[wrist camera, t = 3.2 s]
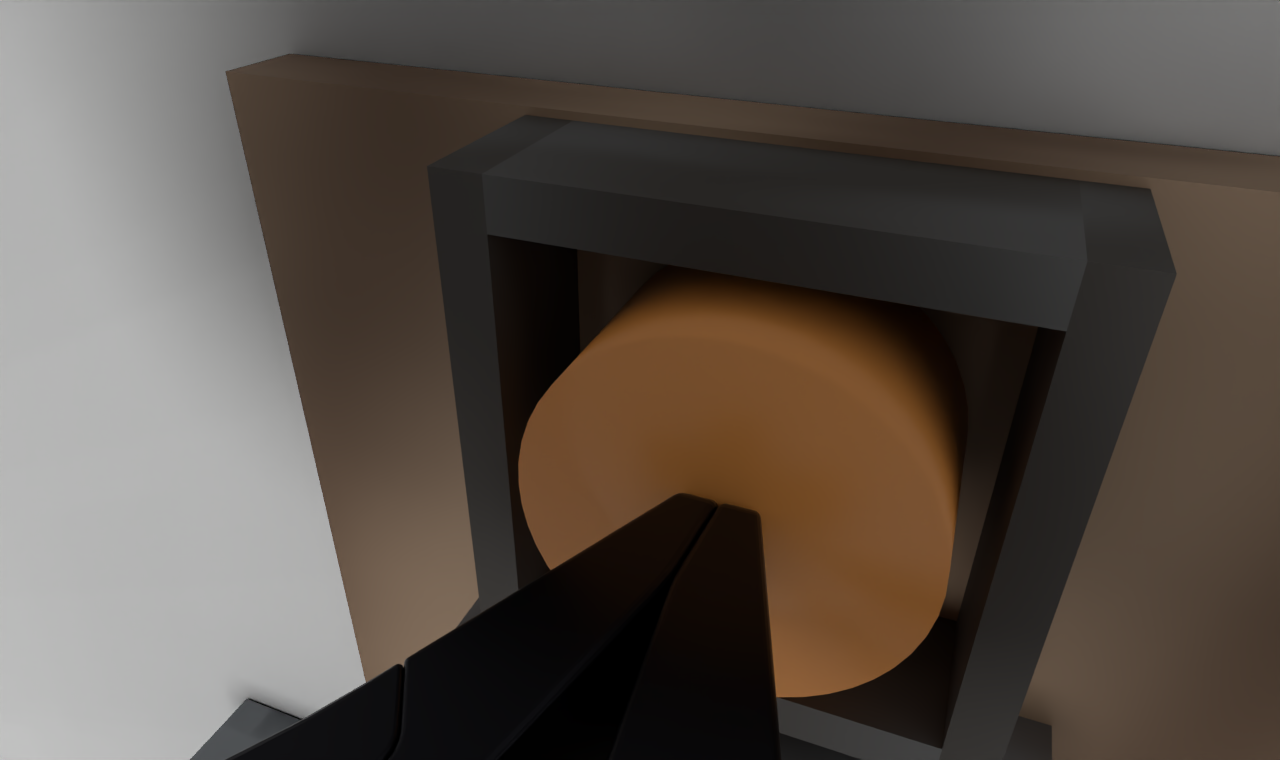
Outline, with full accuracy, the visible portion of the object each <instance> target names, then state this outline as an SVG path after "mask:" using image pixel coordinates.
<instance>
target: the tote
mask: <svg viewBox="0 0 1280 760" xmlns="http://www.w3.org/2000/svg"><path fill="white" fill-rule="evenodd" d="M298 721H300V720H299V719H297V718H294V717H292V716H289V715H287V714H284V713H281V712H279V711H276V710H274V709H271V708H269V707H266V706H264V705H261V704H258V703H256V702H253V701H251V700H248V699H246V700H245V701H244V703H243V704H242V705H241V706H240V707H239V708H238V709H237V710H236V711H235V712H234V713H233V714H232V715H231V716H230V718H229V719H228V720H227V721H226V722H225V723H224V724H223V725H222V726H221V727H220V728H219V729H218V730H217V731H216V732H215V734H214V735H213V736H212V737H211V738H210V739H209V740H208V741H207V742H206V743H205V744H204V745H203V746H202V747H201V749H200V750H199V751H198V752H197V753H196V754H195V755H194V756H193V757H192V758H191V759H190V760H224V759H226V758H228V757H230V756H232V755H234V754H236V753H238V752H240V751H242V750H244V749H246V748H248V747H250V746H252V745H254V744H256V743H258V742H260V741H262V740H264V739H265V738H267V737H269V736H271V735H273V734H275V733H277V732H279V731H281V730H283V729H285V728H287V727H288V726H290V725H292V724H294V723H296V722H298Z"/></svg>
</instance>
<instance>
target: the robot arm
mask: <svg viewBox="0 0 1280 760" xmlns="http://www.w3.org/2000/svg"><path fill="white" fill-rule="evenodd" d="M224 760H782V757H781V745H780V734H779V722H778V710H777V699H776V687H775V675H774V664H773V652H772V640H771V629H770V617H769V606H768V594H767V582H766V571H765V559H764V547H763V536H762V524H761V516H760V514H759V513H758V512H757V511H755V510H751V509H747V508H743V507H739V506H735V505H731V504H722V505H719V506H718V505H717V503H716V502H715V501H713V500H711V499H707V498H703V497H699V496H695V495H691V494H687V493H678V494H675V495H673V496H671V497H670V498H668V499H667V500H665V501H663V502H662V503H660V504H658V505H657V506H655V507H653V508H652V509H650V510H648V511H647V512H645V513H644V514H642V515H640V516H639V517H637V518H635V519H634V520H632V521H630V522H629V523H627V524H626V525H624V526H622V527H621V528H619V529H617V530H616V531H614V532H612V533H611V534H609V535H608V536H606V537H604V538H603V539H601V540H599V541H598V542H596V543H594V544H593V545H591V546H590V547H588V548H586V549H585V550H583V551H581V552H580V553H578V554H576V555H575V556H573V557H571V558H570V559H568V560H567V561H565V562H563V563H562V564H560V565H558V566H557V567H555V568H553V569H552V570H550V571H549V572H547V573H545V574H544V575H542V576H540V577H539V578H537V579H535V580H534V581H532V582H531V583H529V584H527V585H526V586H524V587H522V588H521V589H519V590H517V591H516V592H514V593H513V594H511V595H509V596H508V597H506V598H504V599H503V600H501V601H499V602H498V603H496V604H494V605H493V606H491V607H490V608H488V609H486V610H485V611H483V612H481V613H480V614H478V615H476V616H475V617H473V618H472V619H470V620H468V621H467V622H465V623H463V624H462V625H460V626H458V627H457V628H455V629H454V630H452V631H450V632H449V633H447V634H445V635H444V636H442V637H440V638H439V639H437V640H436V641H434V642H432V643H431V644H429V645H427V646H426V647H424V648H422V649H421V650H419V651H417V652H416V653H414V654H413V655H411V656H409V657H408V658H406V659H405V662H404V667H403V665H401V664H396V665H394V666H392V667H391V668H389V669H387V670H386V671H384V672H382V673H381V674H379V675H378V676H376V677H374V678H373V679H371V680H369V681H368V682H366V683H364V684H363V685H361V686H359V687H358V688H356V689H354V690H352V691H351V692H349V693H347V694H346V695H344V696H342V697H340V698H339V699H337V700H335V701H333V702H332V703H330V704H328V705H327V706H325V707H323V708H321V709H320V710H318V711H316V712H314V713H313V714H311V715H309V716H308V717H306V718H304V719H302V720H300V721H298V722H296V723H294V724H292V725H290V726H288V727H287V728H285V729H283V730H281V731H279V732H277V733H275V734H273V735H271V736H269V737H267V738H265V739H264V740H262V741H260V742H258V743H256V744H254V745H252V746H250V747H248V748H246V749H244V750H242V751H240V752H238V753H236V754H234V755H232V756H230V757H228V758H226V759H224Z"/></svg>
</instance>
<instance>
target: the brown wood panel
mask: <svg viewBox="0 0 1280 760" xmlns="http://www.w3.org/2000/svg"><path fill="white" fill-rule="evenodd" d="M226 75H227V80H228V84H229V88H230V93H231V97H232V101H233V106H234V110H235V115H236V119H237V123H238V128H239V132H240V136H241V141H242V145H243V149H244V154H245V158H246V162H247V167H248V171H249V175H250V180H251V184H252V188H253V193H254V197H255V202H256V206H257V210H258V215H259V219H260V223H261V228H262V232H263V236H264V241H265V245H266V249H267V254H268V258H269V262H270V267H271V271H272V275H273V280H274V284H275V289H276V293H277V297H278V302H279V306H280V310H281V315H282V319H283V323H284V328H285V332H286V336H287V341H288V345H289V349H290V354H291V358H292V362H293V367H294V371H295V376H296V380H297V384H298V389H299V393H300V397H301V402H302V406H303V410H304V415H305V419H306V423H307V428H308V432H309V436H310V441H311V445H312V449H313V454H314V458H315V463H316V467H317V471H318V476H319V480H320V484H321V489H322V493H323V497H324V502H325V506H326V510H327V515H328V519H329V523H330V528H331V532H332V536H333V541H334V545H335V550H336V554H337V558H338V563H339V567H340V571H341V576H342V580H343V584H344V589H345V593H346V597H347V602H348V606H349V610H350V615H351V619H352V624H353V628H354V632H355V637H356V641H357V645H358V650H359V654H360V658H361V663H362V667H363V671H364V676H365V680H366V682H368V681H369V680H371V679H373V678H374V677H376V676H378V675H379V674H381V673H382V672H384V671H386V670H387V669H389V668H391V667H392V666H394V665H396V664H401V665H403V667H404V662H405V659H406V658H408V657H409V656H411V655H413V654H414V653H416V652H417V651H419V650H421V649H422V648H424V647H426V646H427V645H429V644H431V643H432V642H434V641H436V640H437V639H439V638H440V637H442V636H444V635H445V634H447V633H449V632H450V631H452V630H454V629H455V628H457V627H458V626H460V625H462V624H463V623H465V622H467V621H468V620H470V619H472V618H473V617H475V616H476V615H478V614H480V613H481V612H483V611H485V610H486V609H488V608H490V607H491V606H493V605H494V604H496V603H498V602H499V601H501V600H503V599H504V598H506V597H508V596H509V595H511V594H513V593H514V592H516V591H517V590H519V589H521V588H522V587H524V586H526V585H527V584H529V583H531V582H532V581H534V580H535V579H537V578H539V577H540V576H542V575H544V574H545V573H547V572H549V571H550V569H549V567H548V566H547V564H546V562H545V560H544V559H543V557H542V555H541V553H540V551H539V550H538V548H537V546H536V544H535V541H534V539H533V536H532V534H531V532H530V529H529V527H528V524H527V521H526V517H525V514H524V510H523V507H522V502H521V496H520V489H519V471H518V462H519V455H520V448H521V441H522V438H523V435H524V432H525V429H526V426H527V423H528V420H529V418H530V417H531V415H532V413H533V411H534V409H535V407H536V405H537V403H538V402H539V400H540V399H541V398H542V397H543V395H544V394H545V393H546V391H547V390H548V389H549V388H550V386H551V385H552V384H553V383H554V382H555V381H556V380H557V379H558V377H559V376H560V375H561V374H562V373H563V372H564V371H565V370H566V369H567V368H568V366H569V365H570V364H571V363H572V362H573V361H574V360H575V359H576V358H577V357H578V355H579V354H580V353H581V352H582V351H583V350H584V349H585V348H586V347H587V346H588V345H589V343H590V342H591V341H592V340H593V339H594V338H595V337H596V336H597V335H598V334H599V332H600V331H601V330H602V329H603V328H604V327H605V326H606V325H607V324H608V323H609V322H610V320H611V319H612V318H613V317H614V316H615V315H616V314H617V313H618V312H619V311H620V309H621V308H622V307H623V306H624V305H625V304H626V303H627V302H628V301H629V300H630V299H631V297H632V296H633V295H634V294H635V293H636V292H637V291H638V290H639V289H640V288H641V286H643V285H644V284H645V283H646V282H647V281H648V280H649V279H650V278H651V277H652V276H653V275H654V274H656V273H657V272H658V271H660V270H661V269H663V268H664V267H666V266H667V265H673V266H679V267H685V268H691V269H697V270H703V271H709V272H715V273H721V274H727V275H733V276H739V277H745V278H751V279H757V280H763V281H769V282H775V283H781V284H787V285H793V286H799V287H804V288H810V289H816V290H822V291H828V292H834V293H840V294H846V295H852V296H858V297H864V298H870V299H876V300H882V301H888V302H894V303H900V304H906V305H912V306H918V307H920V308H921V309H922V310H923V312H924V313H925V314H926V315H927V316H928V317H929V318H930V319H931V321H932V322H933V323H934V325H935V326H936V328H937V329H938V331H939V332H940V334H941V335H942V336H943V338H944V339H945V341H946V343H947V345H948V347H949V349H950V351H951V353H952V355H953V357H954V359H955V361H956V363H957V365H958V368H959V371H960V374H961V377H962V380H963V383H964V387H965V393H966V399H967V405H968V435H967V443H966V451H965V458H964V466H963V474H962V481H961V489H960V497H959V505H958V512H957V520H956V528H955V535H954V543H953V551H952V558H951V566H950V573H949V579H948V585H947V591H946V597H945V599H944V602H943V605H942V608H941V610H940V613H939V616H938V618H937V620H936V621H935V623H934V625H933V626H932V628H931V630H930V632H929V633H928V635H927V637H926V638H925V639H924V640H923V641H922V642H921V644H920V645H919V646H918V647H917V648H916V649H915V650H914V651H913V653H912V654H911V655H909V656H908V657H907V658H906V659H904V660H903V661H902V662H901V663H899V664H898V665H897V666H896V667H894V668H893V669H891V670H890V671H888V672H886V673H884V674H883V675H881V676H879V677H877V678H876V679H874V680H871V681H869V682H866V683H864V684H861V685H859V686H856V687H854V688H850V689H846V690H842V691H838V692H834V693H830V694H824V695H816V696H808V697H776V699H777V710H778V722H779V734H780V745H781V757H782V760H1280V157H1278V156H1268V155H1259V154H1249V153H1239V152H1230V151H1220V150H1211V149H1201V148H1191V147H1182V146H1172V145H1162V144H1153V143H1143V142H1133V141H1124V140H1114V139H1105V138H1095V137H1085V136H1076V135H1066V134H1056V133H1047V132H1037V131H1028V130H1018V129H1008V128H999V127H989V126H979V125H970V124H960V123H951V122H941V121H931V120H922V119H912V118H902V117H893V116H883V115H873V114H864V113H854V112H845V111H835V110H825V109H816V108H806V107H796V106H787V105H777V104H768V103H758V102H748V101H739V100H729V99H719V98H710V97H700V96H690V95H681V94H671V93H662V92H652V91H642V90H633V89H623V88H613V87H604V86H594V85H585V84H575V83H565V82H556V81H546V80H536V79H527V78H517V77H507V76H498V75H488V74H479V73H469V72H459V71H450V70H440V69H430V68H421V67H411V66H402V65H392V64H382V63H373V62H363V61H353V60H344V59H334V58H324V57H315V56H305V55H296V54H287V55H284V56H280V57H277V58H273V59H269V60H266V61H262V62H259V63H255V64H251V65H248V66H244V67H240V68H237V69H233V70H230V71H226Z"/></svg>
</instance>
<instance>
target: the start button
mask: <svg viewBox="0 0 1280 760" xmlns="http://www.w3.org/2000/svg"><path fill="white" fill-rule="evenodd" d="M967 435H968V405H967V399H966V393H965V387H964V383H963V380H962V377H961V374H960V371H959V368H958V365H957V363H956V361H955V359H954V357H953V355H952V353H951V351H950V349H949V347H948V345H947V343H946V341H945V339H944V338H943V336H942V335H941V334H940V332H939V331H938V329H937V328H936V326H935V325H934V323H933V322H932V321H931V319H930V318H929V317H928V316H927V315H926V314H925V313H924V312H923V310H922V309H921V308H920V307H918V306H912V305H906V304H900V303H894V302H888V301H882V300H876V299H870V298H864V297H858V296H852V295H846V294H840V293H834V292H828V291H822V290H816V289H810V288H804V287H799V286H793V285H787V284H781V283H775V282H769V281H763V280H757V279H751V278H745V277H739V276H733V275H727V274H721V273H715V272H709V271H703V270H697V269H691V268H685V267H679V266H673V265H667V266H666V267H664V268H663V269H661V270H660V271H658V272H657V273H656V274H654V275H653V276H652V277H651V278H650V279H649V280H648V281H647V282H646V283H645V284H644V285H643V286H641V288H640V289H639V290H638V291H637V292H636V293H635V294H634V295H633V296H632V297H631V299H630V300H629V301H628V302H627V303H626V304H625V305H624V306H623V307H622V308H621V309H620V311H619V312H618V313H617V314H616V315H615V316H614V317H613V318H612V319H611V320H610V322H609V323H608V324H607V325H606V326H605V327H604V328H603V329H602V330H601V331H600V332H599V334H598V335H597V336H596V337H595V338H594V339H593V340H592V341H591V342H590V343H589V345H588V346H587V347H586V348H585V349H584V350H583V351H582V352H581V353H580V354H579V355H578V357H577V358H576V359H575V360H574V361H573V362H572V363H571V364H570V365H569V366H568V368H567V369H566V370H565V371H564V372H563V373H562V374H561V375H560V376H559V377H558V379H557V380H556V381H555V382H554V383H553V384H552V385H551V386H550V388H549V389H548V390H547V391H546V393H545V394H544V395H543V397H542V398H541V399H540V400H539V402H538V403H537V405H536V407H535V409H534V411H533V413H532V415H531V417H530V418H529V420H528V423H527V426H526V429H525V432H524V435H523V438H522V441H521V448H520V455H519V462H518V471H519V489H520V496H521V502H522V507H523V510H524V514H525V517H526V521H527V524H528V527H529V529H530V532H531V534H532V536H533V539H534V541H535V544H536V546H537V548H538V550H539V551H540V553H541V555H542V557H543V559H544V560H545V562H546V564H547V566H548V567H549V569H550V570H552V569H553V568H555V567H557V566H558V565H560V564H562V563H563V562H565V561H567V560H568V559H570V558H571V557H573V556H575V555H576V554H578V553H580V552H581V551H583V550H585V549H586V548H588V547H590V546H591V545H593V544H594V543H596V542H598V541H599V540H601V539H603V538H604V537H606V536H608V535H609V534H611V533H612V532H614V531H616V530H617V529H619V528H621V527H622V526H624V525H626V524H627V523H629V522H630V521H632V520H634V519H635V518H637V517H639V516H640V515H642V514H644V513H645V512H647V511H648V510H650V509H652V508H653V507H655V506H657V505H658V504H660V503H662V502H663V501H665V500H667V499H668V498H670V497H671V496H673V495H675V494H678V493H687V494H691V495H695V496H699V497H703V498H707V499H711V500H713V501H715V502H716V503H717V505H718V506H719V505H722V504H731V505H735V506H739V507H743V508H747V509H751V510H755V511H757V512H758V513H759V514H760V516H761V524H762V536H763V547H764V559H765V571H766V582H767V594H768V606H769V617H770V629H771V640H772V652H773V664H774V675H775V687H776V697H808V696H816V695H824V694H830V693H834V692H838V691H842V690H846V689H850V688H854V687H856V686H859V685H861V684H864V683H866V682H869V681H871V680H874V679H876V678H877V677H879V676H881V675H883V674H884V673H886V672H888V671H890V670H891V669H893V668H894V667H896V666H897V665H898V664H899V663H901V662H902V661H903V660H904V659H906V658H907V657H908V656H909V655H911V654H912V653H913V651H914V650H915V649H916V648H917V647H918V646H919V645H920V644H921V642H922V641H923V640H924V639H925V638H926V637H927V635H928V633H929V632H930V630H931V628H932V626H933V625H934V623H935V621H936V620H937V618H938V616H939V613H940V610H941V608H942V605H943V602H944V599H945V597H946V591H947V585H948V579H949V573H950V566H951V558H952V551H953V543H954V535H955V528H956V520H957V512H958V505H959V497H960V489H961V481H962V474H963V466H964V458H965V451H966V443H967Z"/></svg>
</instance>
